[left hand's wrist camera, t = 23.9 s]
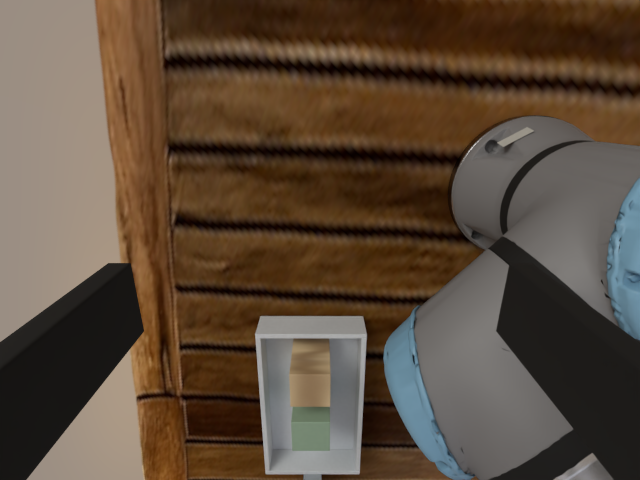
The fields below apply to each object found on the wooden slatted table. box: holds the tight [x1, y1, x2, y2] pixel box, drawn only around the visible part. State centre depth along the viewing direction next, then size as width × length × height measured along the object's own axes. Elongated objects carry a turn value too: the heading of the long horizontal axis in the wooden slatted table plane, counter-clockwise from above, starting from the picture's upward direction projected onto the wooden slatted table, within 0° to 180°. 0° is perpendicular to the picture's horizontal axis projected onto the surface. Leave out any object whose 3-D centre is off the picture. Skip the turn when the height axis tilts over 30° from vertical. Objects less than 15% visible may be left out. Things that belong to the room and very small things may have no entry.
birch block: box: [289, 338, 331, 407], centre depth 43 cm, size 4×4×8 cm
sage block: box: [291, 407, 330, 451], centre depth 46 cm, size 4×4×8 cm
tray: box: [255, 316, 367, 480], centre depth 47 cm, size 32×13×10 cm, turn 0°
